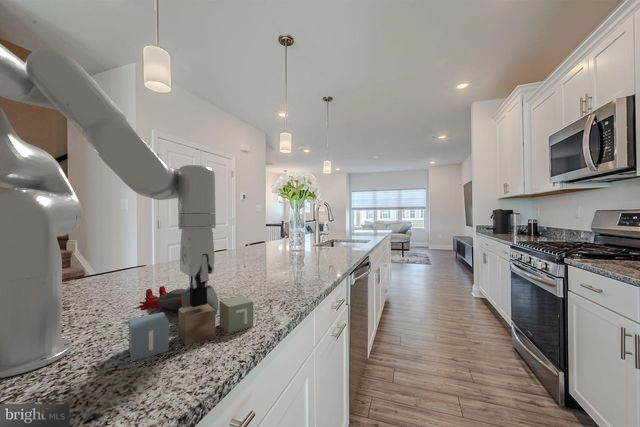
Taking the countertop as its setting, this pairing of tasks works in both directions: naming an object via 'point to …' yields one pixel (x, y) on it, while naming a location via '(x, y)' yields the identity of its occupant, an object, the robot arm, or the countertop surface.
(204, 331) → the walnut block
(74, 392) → the countertop surface
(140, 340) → the slate block
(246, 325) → the olive block
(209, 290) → the toy
